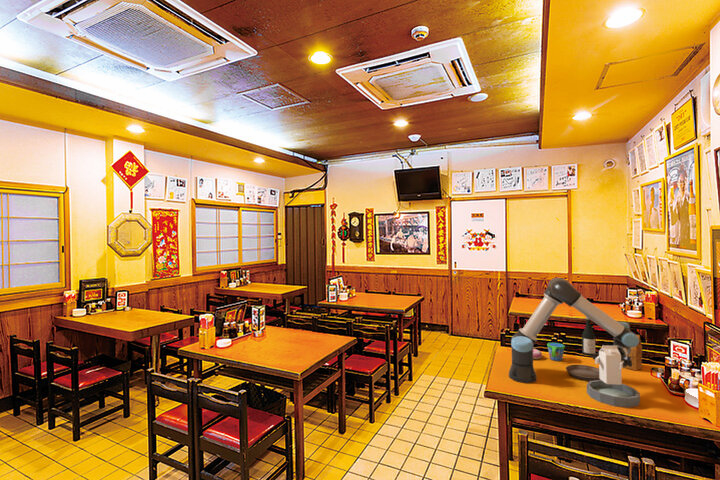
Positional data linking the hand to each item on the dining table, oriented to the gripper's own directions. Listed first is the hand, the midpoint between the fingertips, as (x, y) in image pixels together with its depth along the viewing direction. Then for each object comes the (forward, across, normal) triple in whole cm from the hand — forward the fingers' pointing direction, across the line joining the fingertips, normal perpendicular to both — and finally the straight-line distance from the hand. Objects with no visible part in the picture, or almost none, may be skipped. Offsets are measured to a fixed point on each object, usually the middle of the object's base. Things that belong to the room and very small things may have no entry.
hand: (607, 364), depth 183 cm
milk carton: (-4, 0, -11) cm, 12 cm away
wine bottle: (-75, +27, -19) cm, 82 cm away
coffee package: (-63, +2, -19) cm, 66 cm away
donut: (-40, +54, -19) cm, 70 cm away
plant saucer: (-28, +18, -19) cm, 38 cm away
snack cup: (-47, +40, -19) cm, 64 cm away
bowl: (-5, -1, -19) cm, 19 cm away
